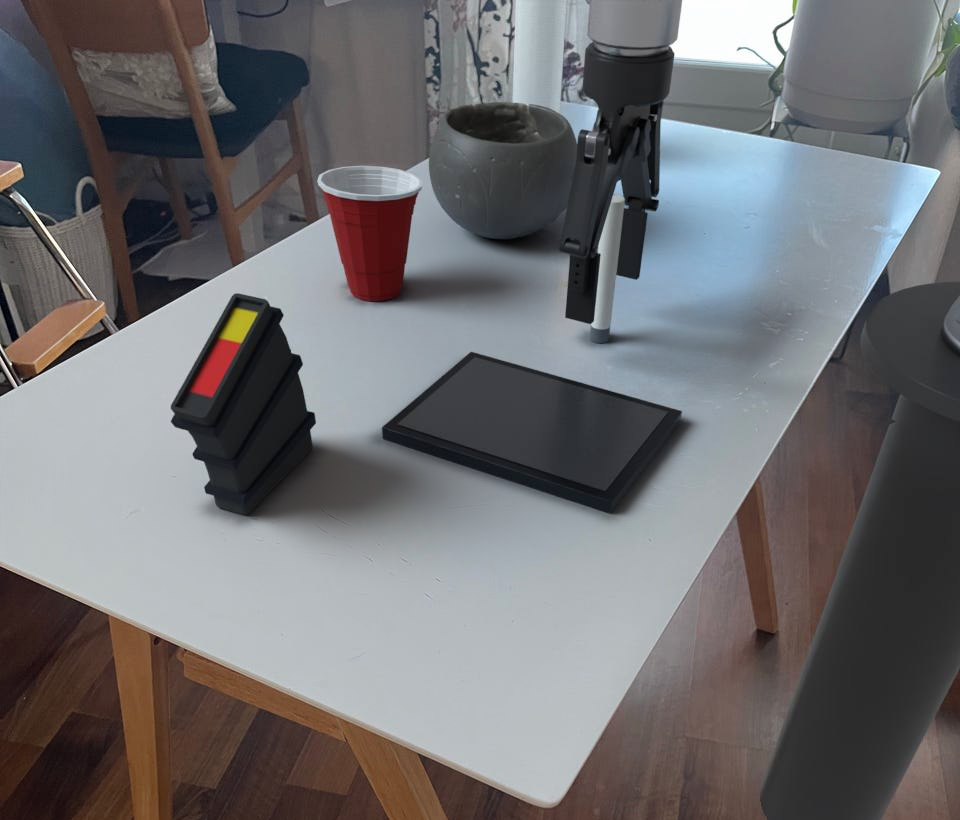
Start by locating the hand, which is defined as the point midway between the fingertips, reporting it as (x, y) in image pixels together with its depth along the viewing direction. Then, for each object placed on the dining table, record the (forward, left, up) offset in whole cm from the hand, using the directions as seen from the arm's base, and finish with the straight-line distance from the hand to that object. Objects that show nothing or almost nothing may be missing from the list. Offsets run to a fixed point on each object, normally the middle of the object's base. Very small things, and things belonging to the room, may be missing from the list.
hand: (603, 296), depth 96 cm
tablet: (-2, +19, -4) cm, 20 cm away
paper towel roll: (+30, -44, -5) cm, 53 cm away
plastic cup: (+26, +2, -5) cm, 27 cm away
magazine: (+14, +38, -5) cm, 41 cm away
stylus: (0, 0, -4) cm, 4 cm away
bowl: (+22, -20, -5) cm, 30 cm away
